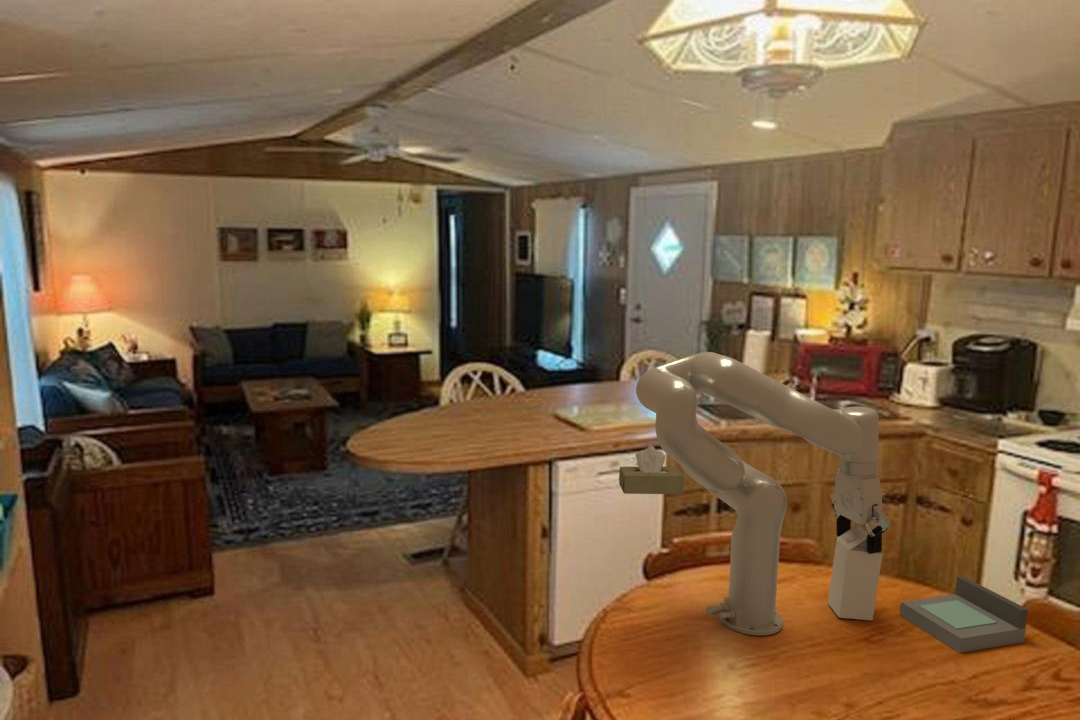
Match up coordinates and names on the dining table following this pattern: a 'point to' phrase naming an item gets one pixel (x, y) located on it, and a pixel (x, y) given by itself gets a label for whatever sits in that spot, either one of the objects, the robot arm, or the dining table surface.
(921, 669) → the dining table surface
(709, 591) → the dining table surface
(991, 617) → the plate
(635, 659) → the dining table surface
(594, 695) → the dining table surface
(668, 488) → the tissue box
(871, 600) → the milk carton
